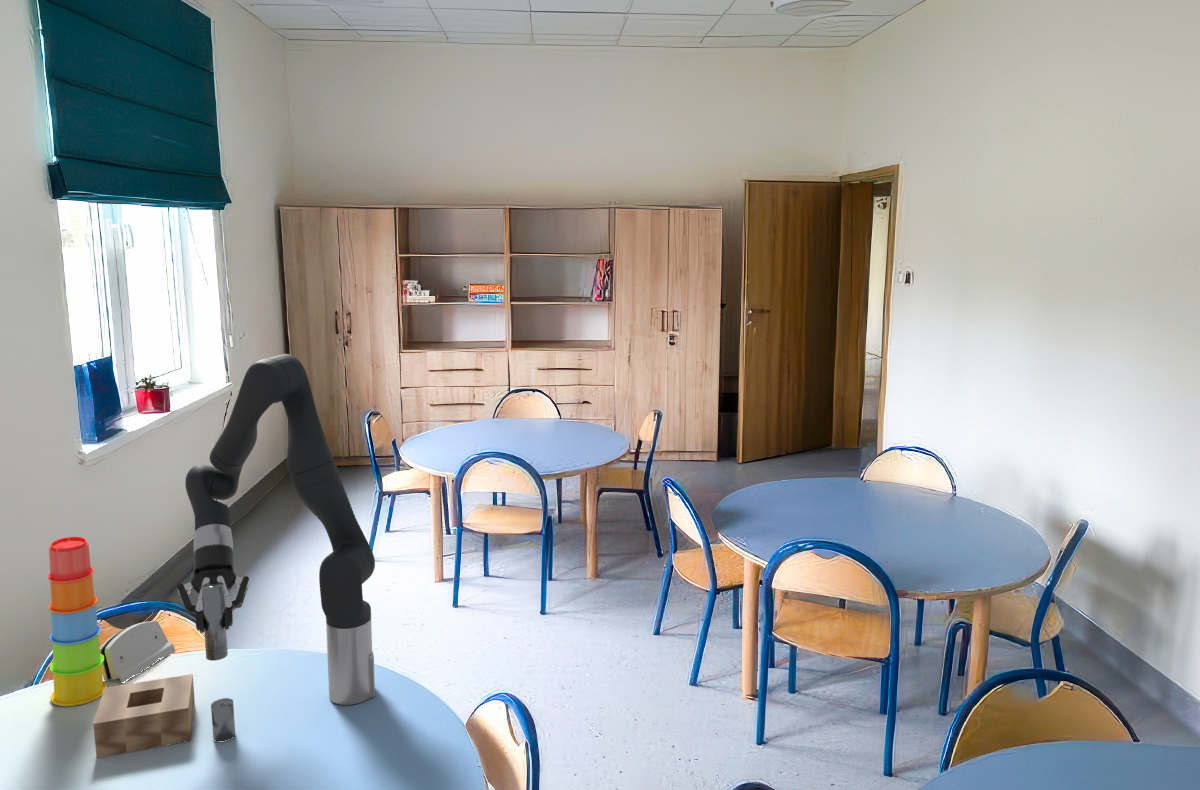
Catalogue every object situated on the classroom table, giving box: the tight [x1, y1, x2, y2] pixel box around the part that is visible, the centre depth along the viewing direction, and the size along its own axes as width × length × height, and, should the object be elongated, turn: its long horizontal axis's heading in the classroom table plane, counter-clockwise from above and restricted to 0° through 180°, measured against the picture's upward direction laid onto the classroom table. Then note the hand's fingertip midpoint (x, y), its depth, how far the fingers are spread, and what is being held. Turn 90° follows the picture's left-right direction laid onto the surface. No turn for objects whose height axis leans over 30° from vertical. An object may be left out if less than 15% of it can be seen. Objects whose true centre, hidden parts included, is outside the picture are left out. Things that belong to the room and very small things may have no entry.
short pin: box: [210, 697, 236, 742], centre depth 167 cm, size 4×4×7 cm
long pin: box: [201, 582, 229, 661], centre depth 170 cm, size 4×4×15 cm
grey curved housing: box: [100, 620, 176, 683], centre depth 194 cm, size 17×5×10 cm, turn 166°
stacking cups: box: [47, 536, 108, 707], centre depth 178 cm, size 10×10×35 cm
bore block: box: [92, 673, 196, 759], centre depth 168 cm, size 16×14×7 cm
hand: (214, 629), depth 169 cm, fingers closed on long pin, 4 cm apart
